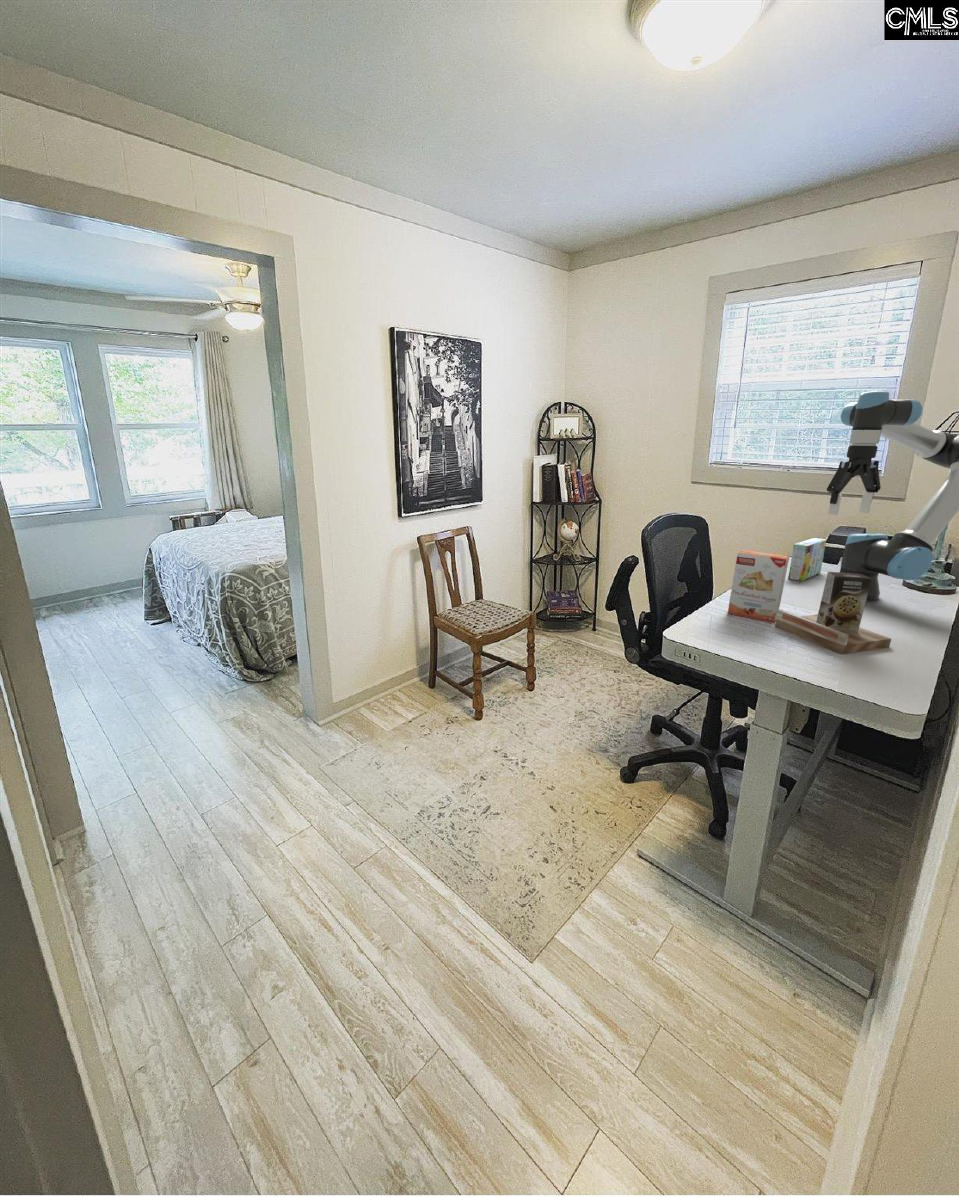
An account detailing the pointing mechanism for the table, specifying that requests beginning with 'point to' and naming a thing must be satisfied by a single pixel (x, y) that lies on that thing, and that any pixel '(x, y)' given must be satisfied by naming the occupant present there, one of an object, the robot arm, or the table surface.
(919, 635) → the table surface
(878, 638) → the shelf board
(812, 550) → the snack box
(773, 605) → the cracker box
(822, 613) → the cookie box
